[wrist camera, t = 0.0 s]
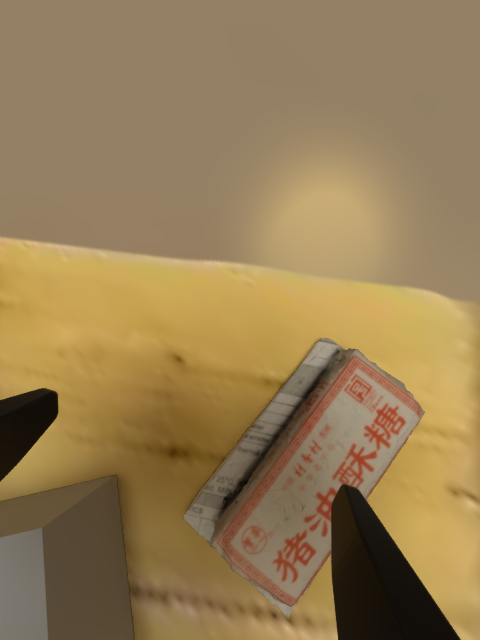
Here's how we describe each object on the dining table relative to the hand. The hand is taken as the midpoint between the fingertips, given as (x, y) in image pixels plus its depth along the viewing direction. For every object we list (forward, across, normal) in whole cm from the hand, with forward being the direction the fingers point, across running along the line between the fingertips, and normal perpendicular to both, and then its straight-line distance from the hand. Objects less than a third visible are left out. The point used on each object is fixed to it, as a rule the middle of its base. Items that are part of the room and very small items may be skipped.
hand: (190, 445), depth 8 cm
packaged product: (+12, -7, +10) cm, 17 cm away
